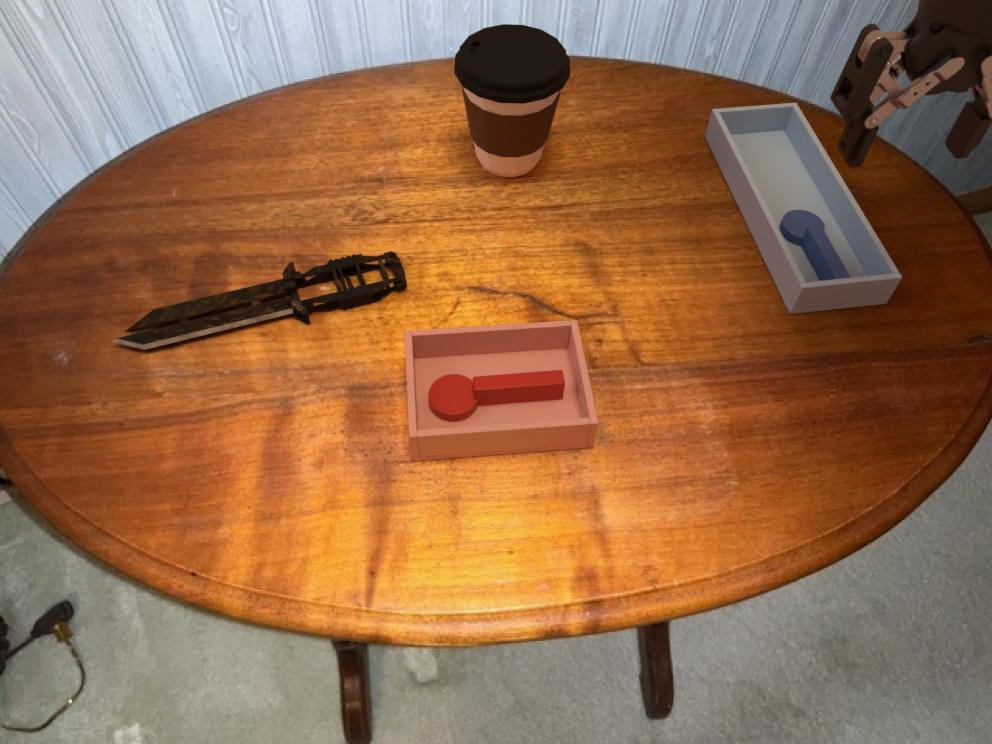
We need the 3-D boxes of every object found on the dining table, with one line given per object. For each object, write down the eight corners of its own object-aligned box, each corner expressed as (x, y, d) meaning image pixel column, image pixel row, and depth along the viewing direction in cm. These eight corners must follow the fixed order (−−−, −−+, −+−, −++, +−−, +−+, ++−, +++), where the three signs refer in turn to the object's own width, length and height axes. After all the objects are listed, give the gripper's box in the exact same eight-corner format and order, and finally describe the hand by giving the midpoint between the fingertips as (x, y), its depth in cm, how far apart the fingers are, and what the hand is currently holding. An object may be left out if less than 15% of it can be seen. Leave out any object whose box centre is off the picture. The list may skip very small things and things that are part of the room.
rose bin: (573, 345, 70) (577, 319, 68) (593, 447, 64) (598, 423, 61) (407, 356, 69) (404, 330, 66) (411, 461, 63) (409, 437, 60)
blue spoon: (858, 297, 74) (867, 280, 72) (816, 302, 73) (824, 285, 72) (811, 215, 80) (819, 198, 78) (772, 219, 80) (779, 201, 78)
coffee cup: (444, 184, 82) (440, 78, 73) (469, 118, 89) (468, 13, 79) (551, 201, 81) (561, 96, 71) (568, 134, 88) (580, 29, 78)
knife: (115, 360, 68) (109, 350, 67) (115, 303, 72) (110, 292, 71) (412, 305, 73) (411, 294, 72) (398, 254, 76) (397, 243, 75)
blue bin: (886, 303, 74) (902, 277, 71) (789, 314, 73) (802, 287, 70) (786, 130, 89) (796, 102, 86) (704, 136, 88) (712, 108, 85)
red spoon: (557, 372, 68) (560, 356, 66) (565, 412, 66) (568, 396, 64) (427, 382, 67) (426, 366, 65) (430, 423, 65) (429, 408, 63)
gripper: (934, -25, 46) (833, 197, 59) (1162, -39, 48) (1015, 181, 61) (877, -87, 51) (795, 133, 64) (1087, -98, 52) (965, 119, 65)
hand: (902, 156), depth 62 cm, fingers open, 8 cm apart
